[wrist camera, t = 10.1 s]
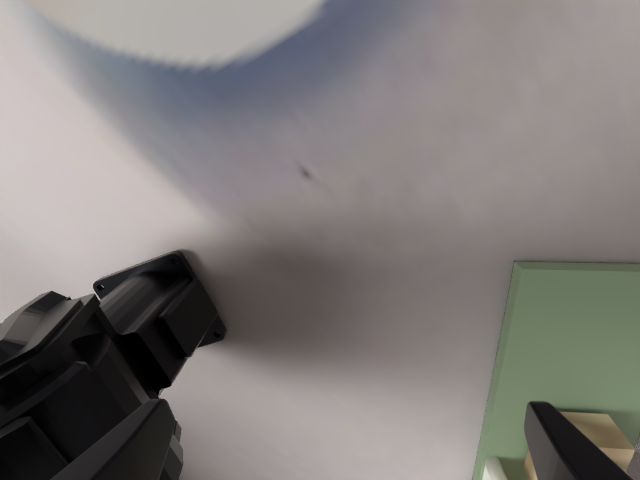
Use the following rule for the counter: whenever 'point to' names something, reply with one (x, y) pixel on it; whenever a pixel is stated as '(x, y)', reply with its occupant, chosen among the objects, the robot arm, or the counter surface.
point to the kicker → (596, 439)
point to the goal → (494, 469)
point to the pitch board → (564, 353)
